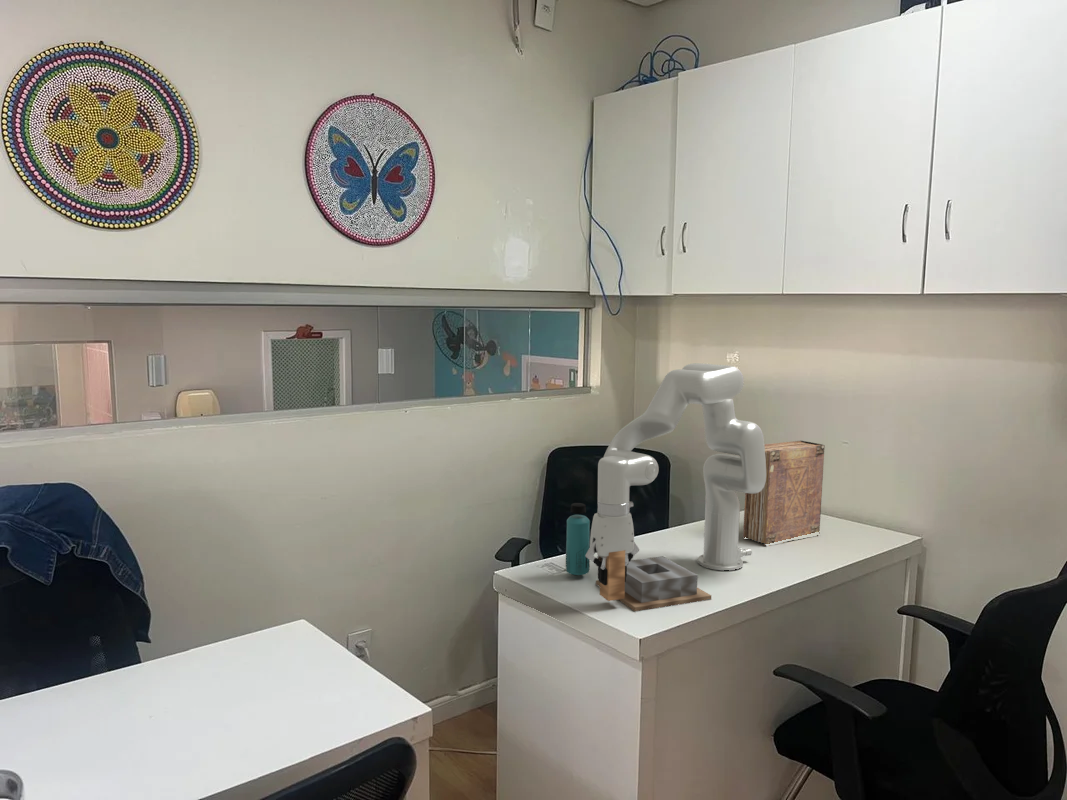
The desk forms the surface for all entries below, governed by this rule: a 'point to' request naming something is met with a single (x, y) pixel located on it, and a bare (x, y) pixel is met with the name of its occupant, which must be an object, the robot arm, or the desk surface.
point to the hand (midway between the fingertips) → (612, 581)
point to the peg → (614, 577)
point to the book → (787, 493)
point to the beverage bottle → (577, 541)
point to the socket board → (659, 584)
